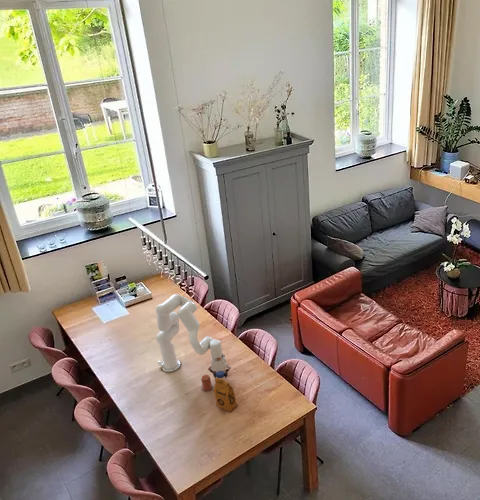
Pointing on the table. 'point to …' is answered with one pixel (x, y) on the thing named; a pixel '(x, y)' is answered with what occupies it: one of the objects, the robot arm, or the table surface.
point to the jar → (206, 382)
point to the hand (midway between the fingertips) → (220, 376)
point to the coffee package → (224, 395)
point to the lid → (220, 374)
